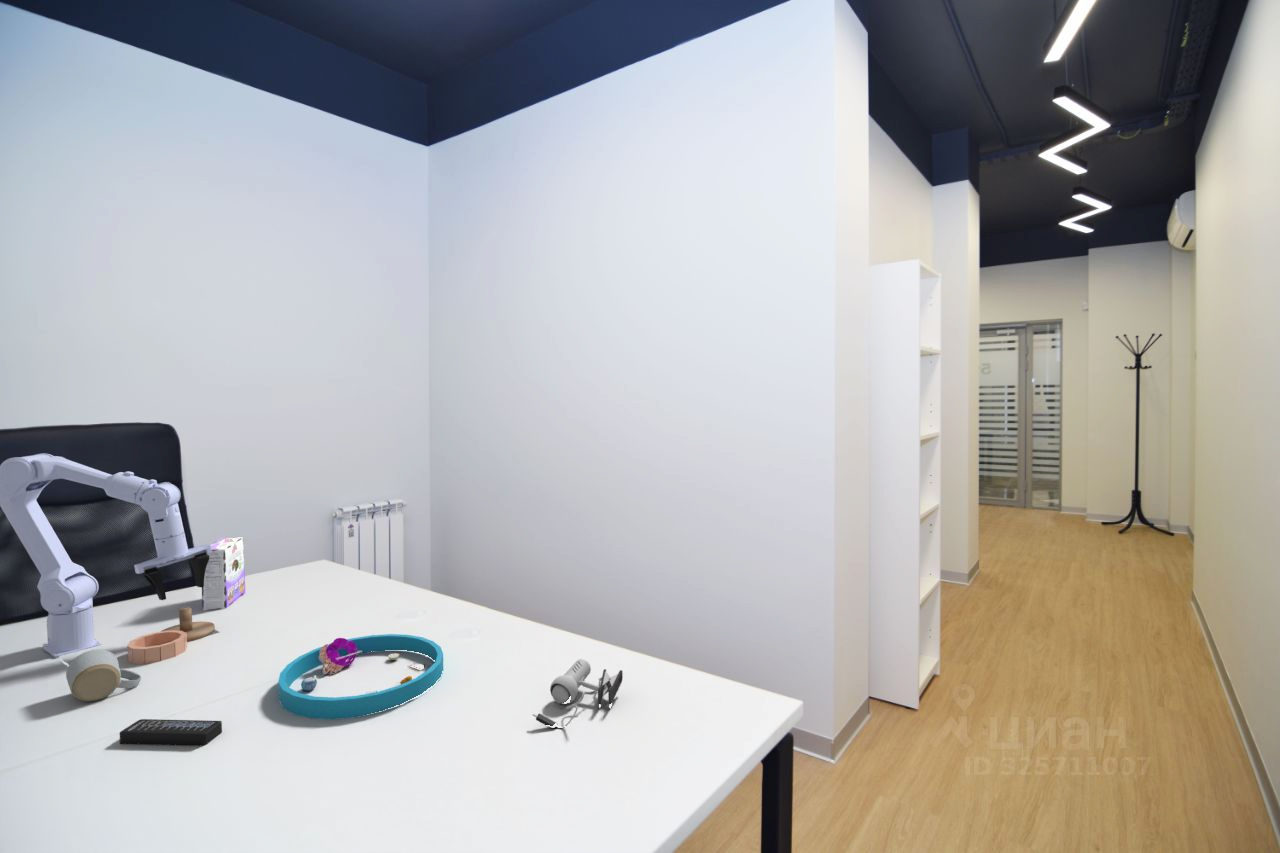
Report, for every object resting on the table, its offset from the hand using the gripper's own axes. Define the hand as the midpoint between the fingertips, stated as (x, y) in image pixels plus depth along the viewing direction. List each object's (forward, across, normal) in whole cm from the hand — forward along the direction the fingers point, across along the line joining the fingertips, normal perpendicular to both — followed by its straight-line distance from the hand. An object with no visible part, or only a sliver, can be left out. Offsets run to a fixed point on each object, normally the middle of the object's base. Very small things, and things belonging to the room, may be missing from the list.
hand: (182, 592), depth 145 cm
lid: (+10, 0, +3) cm, 11 cm away
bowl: (+11, -8, -4) cm, 14 cm away
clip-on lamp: (+24, +25, -94) cm, 100 cm away
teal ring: (+18, +10, -52) cm, 56 cm away
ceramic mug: (+11, -21, -16) cm, 28 cm away
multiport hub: (+14, -20, -44) cm, 51 cm away
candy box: (+11, +16, +21) cm, 28 cm away
